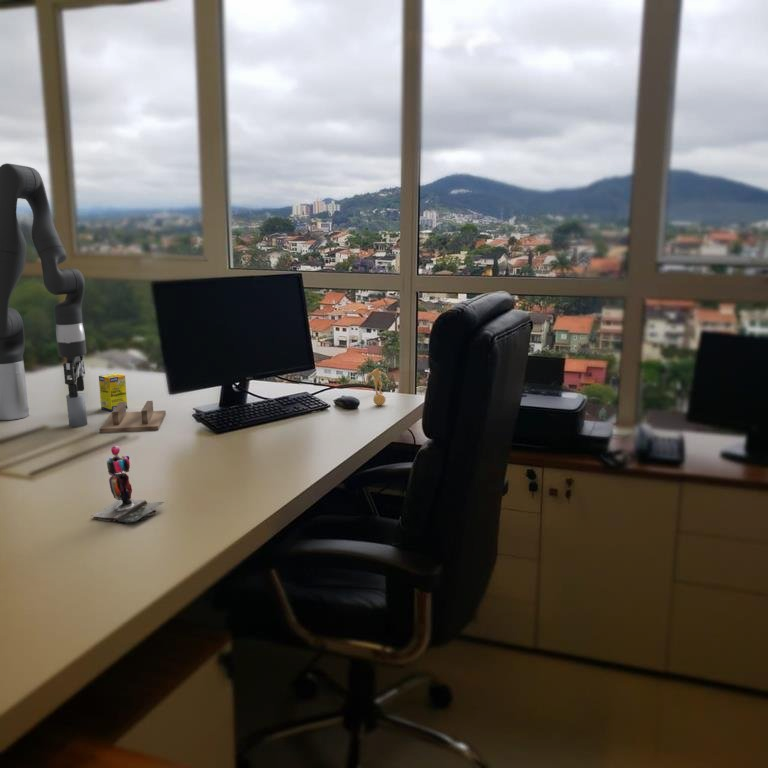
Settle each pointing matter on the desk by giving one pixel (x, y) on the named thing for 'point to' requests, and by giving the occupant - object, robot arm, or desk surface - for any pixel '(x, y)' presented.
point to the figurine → (379, 397)
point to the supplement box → (112, 391)
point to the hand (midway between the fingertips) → (77, 394)
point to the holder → (133, 419)
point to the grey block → (77, 410)
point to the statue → (123, 494)
